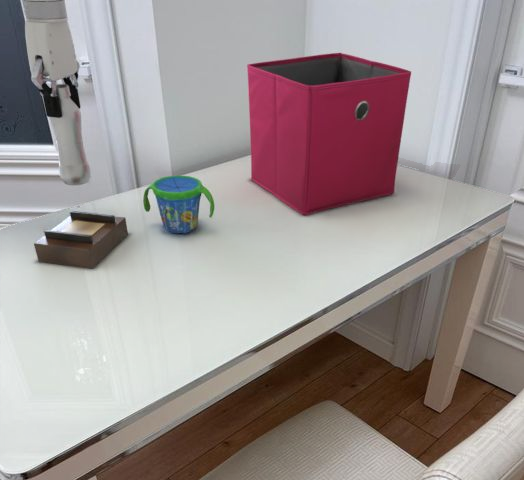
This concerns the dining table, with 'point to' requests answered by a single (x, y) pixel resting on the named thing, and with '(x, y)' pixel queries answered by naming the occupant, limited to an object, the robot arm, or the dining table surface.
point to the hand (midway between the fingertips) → (64, 111)
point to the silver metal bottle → (70, 140)
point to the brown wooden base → (81, 239)
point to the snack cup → (178, 202)
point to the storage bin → (326, 129)
